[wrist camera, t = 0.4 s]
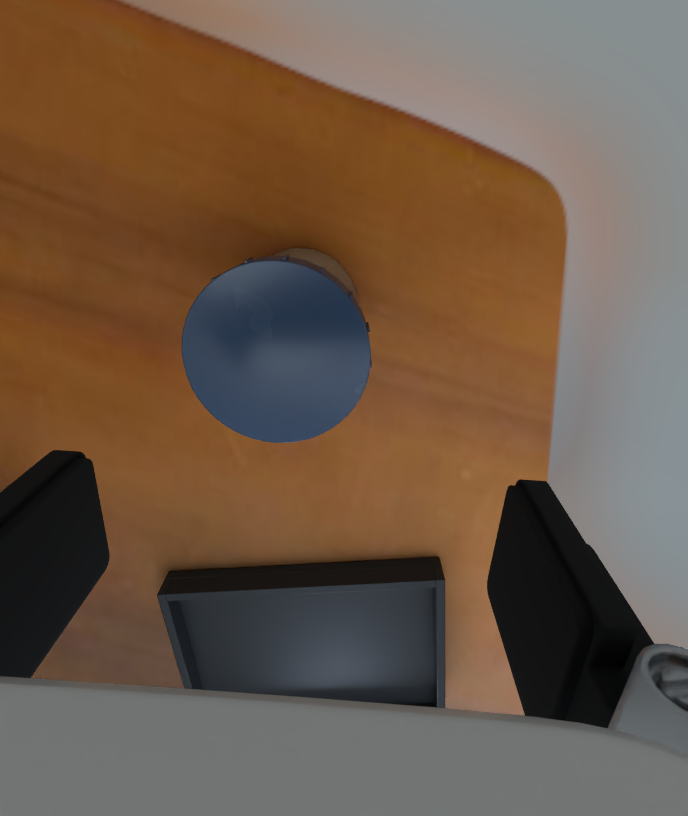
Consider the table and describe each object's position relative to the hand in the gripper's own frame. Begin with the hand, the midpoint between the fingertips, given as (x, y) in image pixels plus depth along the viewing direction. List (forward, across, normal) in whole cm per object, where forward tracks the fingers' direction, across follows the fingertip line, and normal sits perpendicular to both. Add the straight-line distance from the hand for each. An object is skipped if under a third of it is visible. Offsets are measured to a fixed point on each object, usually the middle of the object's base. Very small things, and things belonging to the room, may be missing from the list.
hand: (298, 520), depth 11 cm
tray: (+18, +1, +24) cm, 30 cm away
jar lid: (+8, +2, -1) cm, 9 cm away
